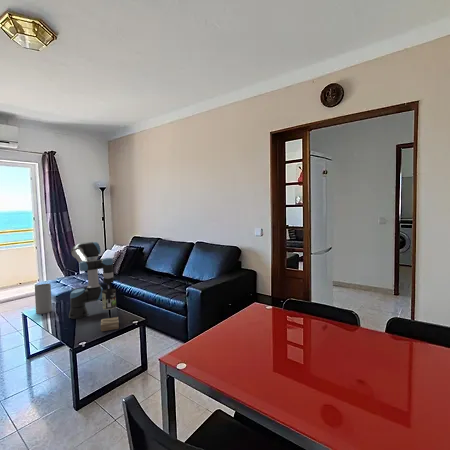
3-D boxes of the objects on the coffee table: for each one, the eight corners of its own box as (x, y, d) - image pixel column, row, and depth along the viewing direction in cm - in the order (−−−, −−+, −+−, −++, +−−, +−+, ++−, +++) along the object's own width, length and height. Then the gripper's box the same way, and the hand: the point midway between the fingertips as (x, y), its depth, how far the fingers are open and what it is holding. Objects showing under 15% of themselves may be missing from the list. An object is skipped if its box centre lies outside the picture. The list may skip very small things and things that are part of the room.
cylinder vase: (46, 314, 262) (45, 287, 261) (32, 314, 263) (31, 287, 261) (54, 309, 275) (53, 283, 274) (41, 309, 275) (40, 283, 274)
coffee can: (118, 305, 235) (118, 288, 234) (111, 310, 225) (110, 292, 224) (107, 305, 237) (106, 288, 236) (99, 309, 227) (99, 291, 226)
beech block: (101, 325, 235) (101, 319, 235) (118, 322, 240) (118, 316, 240) (101, 331, 223) (100, 324, 223) (118, 328, 228) (118, 322, 228)
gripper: (103, 275, 239) (104, 301, 240) (103, 281, 218) (104, 310, 219) (113, 274, 242) (114, 300, 243) (113, 280, 221) (114, 308, 222)
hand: (109, 304), depth 231 cm, fingers closed on coffee can, 10 cm apart
